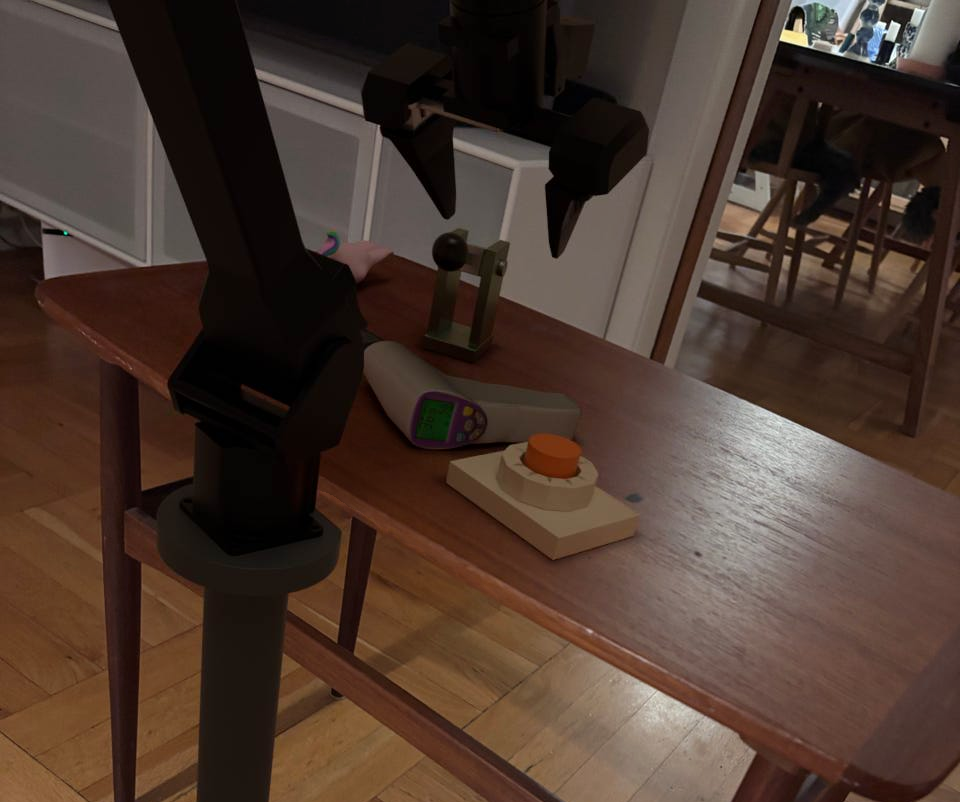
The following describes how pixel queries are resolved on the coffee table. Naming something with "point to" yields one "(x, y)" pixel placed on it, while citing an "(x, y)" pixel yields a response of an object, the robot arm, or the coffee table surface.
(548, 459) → the button
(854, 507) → the coffee table surface
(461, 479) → the button box
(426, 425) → the infrared thermometer
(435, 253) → the switch lever
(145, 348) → the coffee table surface
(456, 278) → the switch bracket
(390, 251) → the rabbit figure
